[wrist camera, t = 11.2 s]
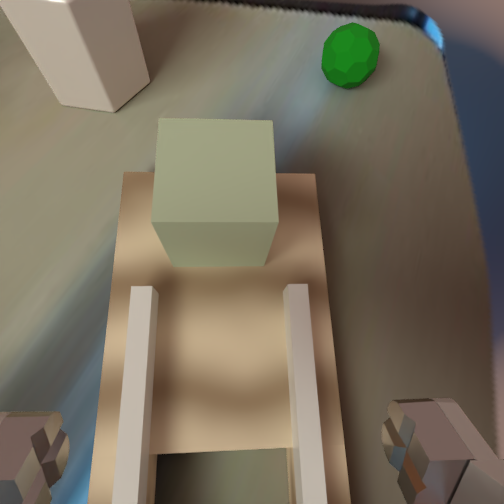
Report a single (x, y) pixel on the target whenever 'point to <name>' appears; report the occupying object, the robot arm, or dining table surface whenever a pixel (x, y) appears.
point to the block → (215, 191)
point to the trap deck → (220, 343)
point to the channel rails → (141, 391)
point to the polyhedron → (350, 55)
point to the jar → (83, 49)
